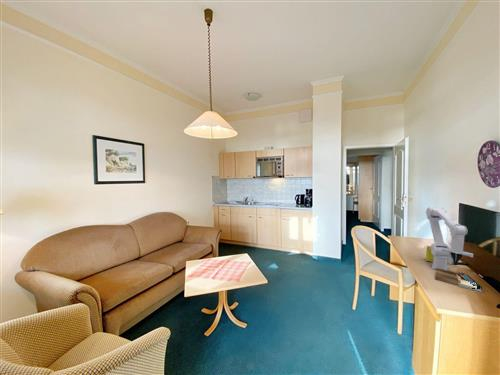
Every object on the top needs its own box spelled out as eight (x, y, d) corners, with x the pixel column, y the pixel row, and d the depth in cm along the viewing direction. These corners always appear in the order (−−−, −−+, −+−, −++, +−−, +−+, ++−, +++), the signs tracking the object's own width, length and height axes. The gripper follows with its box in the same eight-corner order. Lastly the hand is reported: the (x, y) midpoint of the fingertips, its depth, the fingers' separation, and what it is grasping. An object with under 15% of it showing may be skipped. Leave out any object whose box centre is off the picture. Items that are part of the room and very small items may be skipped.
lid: (457, 280, 132) (457, 275, 132) (475, 284, 127) (475, 280, 126) (457, 284, 127) (457, 279, 127) (476, 289, 122) (477, 284, 121)
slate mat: (456, 278, 134) (457, 278, 134) (478, 284, 128) (478, 284, 128) (458, 286, 125) (458, 285, 125) (481, 292, 119) (481, 292, 119)
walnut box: (435, 273, 140) (435, 267, 140) (456, 279, 134) (456, 272, 133) (435, 279, 133) (435, 272, 133) (457, 285, 126) (457, 278, 126)
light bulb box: (450, 264, 155) (451, 250, 154) (439, 261, 161) (440, 247, 160) (457, 262, 159) (458, 248, 158) (446, 259, 165) (447, 246, 164)
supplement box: (425, 258, 165) (426, 245, 164) (435, 261, 161) (436, 247, 160) (425, 261, 160) (426, 247, 159) (436, 263, 157) (437, 249, 156)
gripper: (441, 242, 134) (440, 263, 135) (474, 248, 125) (472, 270, 126) (441, 240, 140) (440, 259, 141) (473, 245, 130) (471, 266, 131)
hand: (455, 264), depth 134 cm, fingers closed
